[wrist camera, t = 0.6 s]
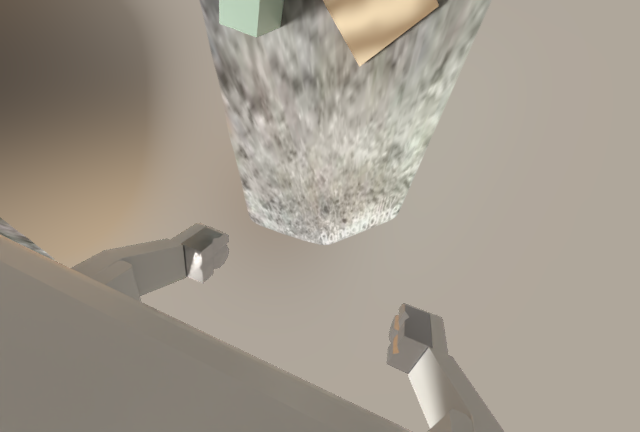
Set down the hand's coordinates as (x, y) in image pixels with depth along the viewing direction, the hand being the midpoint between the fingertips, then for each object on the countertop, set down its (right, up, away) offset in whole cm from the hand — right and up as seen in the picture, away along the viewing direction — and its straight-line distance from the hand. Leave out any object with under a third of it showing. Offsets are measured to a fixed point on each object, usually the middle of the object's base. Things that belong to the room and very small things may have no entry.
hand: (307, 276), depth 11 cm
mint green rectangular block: (-8, +39, +31) cm, 51 cm away
